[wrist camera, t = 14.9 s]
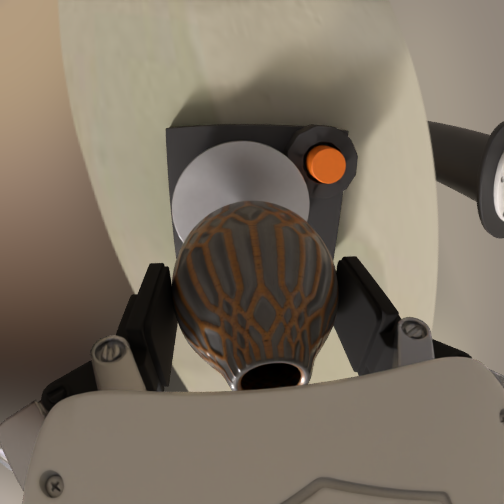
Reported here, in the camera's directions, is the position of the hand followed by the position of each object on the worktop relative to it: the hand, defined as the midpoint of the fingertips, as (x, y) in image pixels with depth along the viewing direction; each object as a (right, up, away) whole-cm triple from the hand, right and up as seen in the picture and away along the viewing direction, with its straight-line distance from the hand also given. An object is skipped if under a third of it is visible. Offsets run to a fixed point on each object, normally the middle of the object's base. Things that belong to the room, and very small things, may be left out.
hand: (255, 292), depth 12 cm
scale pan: (-1, +5, +9) cm, 10 cm away
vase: (0, +2, +4) cm, 4 cm away
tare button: (+5, +8, +8) cm, 13 cm away
